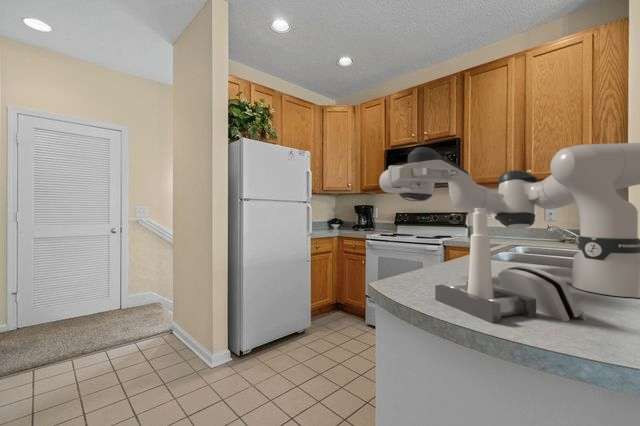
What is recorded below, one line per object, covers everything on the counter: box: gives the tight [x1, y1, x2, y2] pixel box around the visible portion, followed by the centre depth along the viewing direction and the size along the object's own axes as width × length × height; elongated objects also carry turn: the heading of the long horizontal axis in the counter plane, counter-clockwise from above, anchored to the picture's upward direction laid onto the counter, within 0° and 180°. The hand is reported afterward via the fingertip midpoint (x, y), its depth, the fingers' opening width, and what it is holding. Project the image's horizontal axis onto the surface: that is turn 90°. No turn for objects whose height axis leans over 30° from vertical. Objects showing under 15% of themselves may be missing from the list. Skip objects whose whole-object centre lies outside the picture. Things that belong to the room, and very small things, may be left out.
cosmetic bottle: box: [467, 208, 494, 300], centre depth 66 cm, size 6×6×22 cm
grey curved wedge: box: [497, 265, 587, 322], centre depth 66 cm, size 17×5×10 cm, turn 6°
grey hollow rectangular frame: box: [434, 281, 537, 324], centre depth 66 cm, size 12×16×4 cm
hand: (443, 171), depth 80 cm, fingers open, 8 cm apart
